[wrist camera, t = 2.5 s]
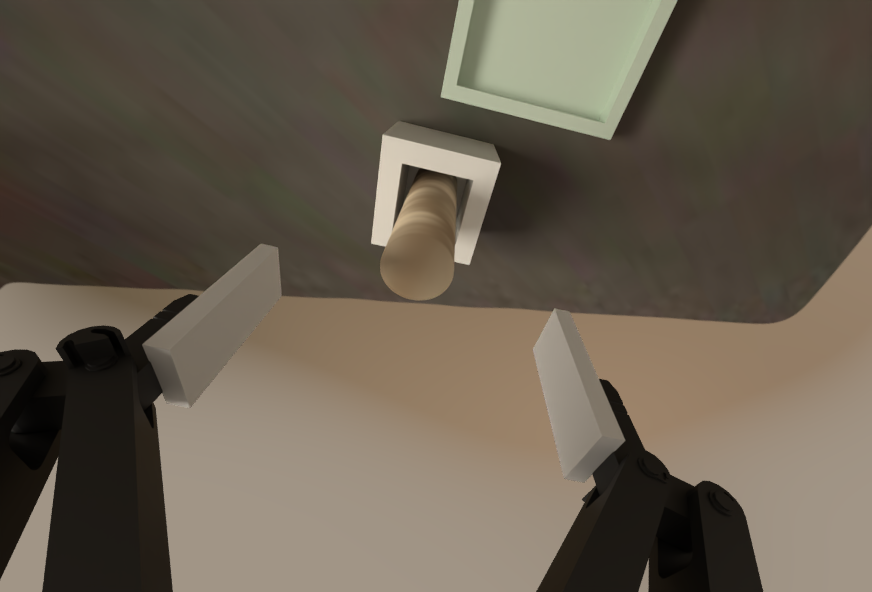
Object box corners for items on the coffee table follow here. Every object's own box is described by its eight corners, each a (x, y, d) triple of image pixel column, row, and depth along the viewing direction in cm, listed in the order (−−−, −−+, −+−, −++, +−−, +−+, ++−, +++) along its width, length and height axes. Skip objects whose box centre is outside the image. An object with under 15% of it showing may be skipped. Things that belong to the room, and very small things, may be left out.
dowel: (411, 199, 32) (376, 292, 19) (418, 156, 30) (384, 228, 16) (451, 208, 32) (444, 306, 19) (462, 166, 30) (462, 245, 17)
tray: (442, 94, 27) (440, 96, 26) (484, -125, 21) (486, -144, 19) (600, 135, 28) (610, 140, 26) (691, -63, 21) (713, -75, 20)
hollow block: (386, 213, 34) (371, 243, 28) (398, 120, 29) (382, 134, 23) (468, 231, 34) (469, 264, 28) (493, 144, 29) (501, 163, 24)
